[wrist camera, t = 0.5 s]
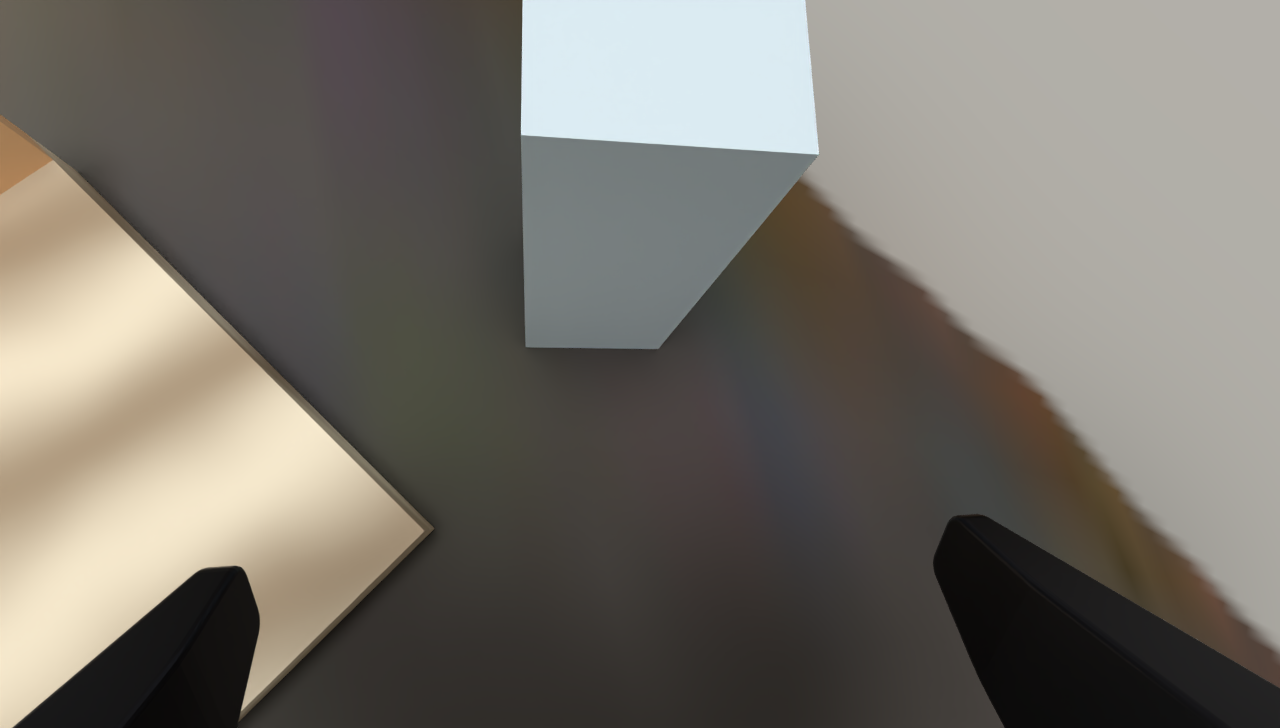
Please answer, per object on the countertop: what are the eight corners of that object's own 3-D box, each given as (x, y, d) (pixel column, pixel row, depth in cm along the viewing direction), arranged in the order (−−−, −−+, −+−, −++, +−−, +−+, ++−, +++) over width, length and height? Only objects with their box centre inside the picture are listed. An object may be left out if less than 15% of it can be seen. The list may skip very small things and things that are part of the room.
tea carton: (657, 349, 23) (819, 154, 10) (525, 347, 22) (521, 135, 9) (654, 233, 23) (798, -78, 11) (526, 228, 23) (524, -113, 10)
